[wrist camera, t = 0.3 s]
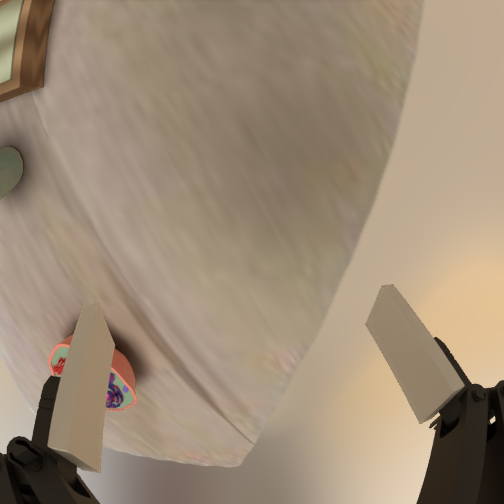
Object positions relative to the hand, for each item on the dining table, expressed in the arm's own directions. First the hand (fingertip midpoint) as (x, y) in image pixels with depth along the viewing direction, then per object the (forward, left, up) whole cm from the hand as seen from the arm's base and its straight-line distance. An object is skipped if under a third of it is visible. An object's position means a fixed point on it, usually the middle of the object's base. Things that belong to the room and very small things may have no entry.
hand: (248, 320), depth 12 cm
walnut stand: (-23, -34, -27) cm, 49 cm away
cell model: (+33, -25, -27) cm, 50 cm away
